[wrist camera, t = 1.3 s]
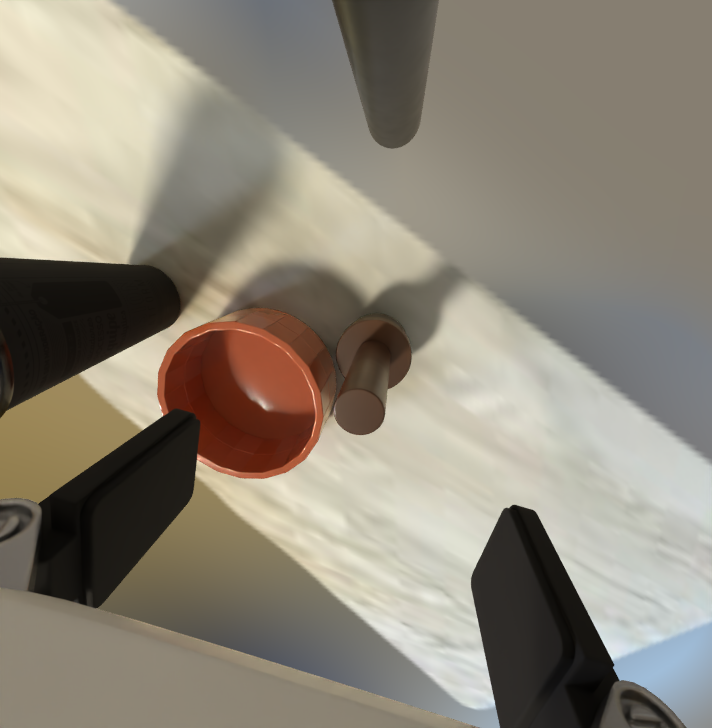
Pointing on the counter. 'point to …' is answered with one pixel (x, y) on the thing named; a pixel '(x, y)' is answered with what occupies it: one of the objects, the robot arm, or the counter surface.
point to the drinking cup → (73, 319)
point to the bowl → (251, 390)
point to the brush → (369, 370)
